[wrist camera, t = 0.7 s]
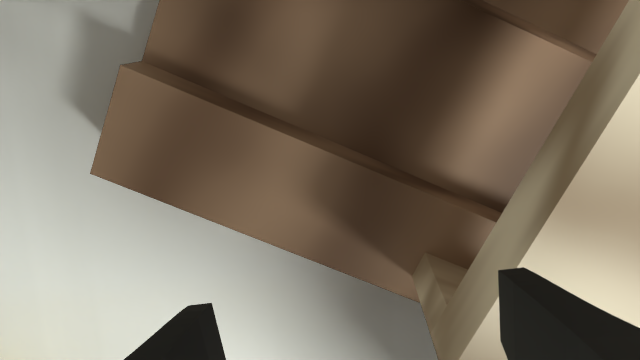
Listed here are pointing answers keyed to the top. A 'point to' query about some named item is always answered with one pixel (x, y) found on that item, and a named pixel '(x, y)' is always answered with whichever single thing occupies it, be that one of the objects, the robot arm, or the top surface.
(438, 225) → the board
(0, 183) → the top surface
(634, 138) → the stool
